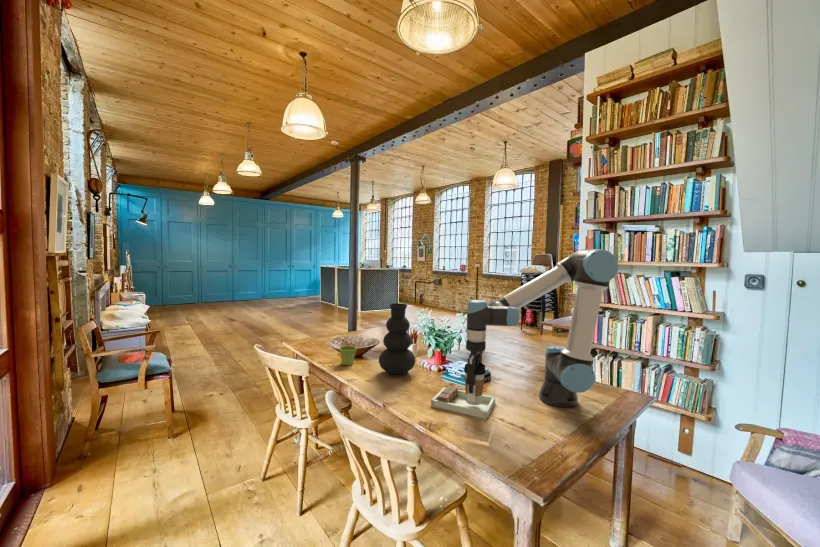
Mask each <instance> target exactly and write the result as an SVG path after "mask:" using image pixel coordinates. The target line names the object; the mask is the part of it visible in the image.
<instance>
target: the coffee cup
mask: <svg viewBox="0 0 820 547" xmlns="http://www.w3.org/2000/svg"><path fill="white" fill-rule="evenodd" d="M467 369H468V362H467V363H465V365H464V368H463V372H464V388H465V390H464V391H466V402H467V403H468V404H471V405H479V404H481V401H482V395H483V392H484V391H483V390H484V385H485V374H486V373H487V372H486V371H487V370H486V365H485V364H484V363H483V362H482V363H481V364H480V366H478V367H477V368H476V373H475V375H476V377H475V402H473V401H468V400H467V399H468V384H466V382H467Z"/></svg>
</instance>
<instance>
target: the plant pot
mask: <svg viewBox="0 0 820 547" xmlns="http://www.w3.org/2000/svg"><path fill="white" fill-rule="evenodd" d="M338 350H339V352H340V359H341V361H340V362H341V364H342V366H352V365H353V364H354V361H355V354H356V352H357V346H354V345H343V346H339V348H338Z"/></svg>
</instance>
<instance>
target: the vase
mask: <svg viewBox="0 0 820 547" xmlns="http://www.w3.org/2000/svg"><path fill="white" fill-rule="evenodd" d="M407 307H408V304H407V303H396V302H395V303H389V308H390V317H389V318H388V319H387V320H386V322H385V327H386V328H385V329H386V330H387V331H388V332H386V334H385V335H384V337H383V342H382V343H383V345H384V347H385V349H383V351H382V352H380V354H379V356H378V363H379V366H380V368H381V369H382V370H383V371H385V374H387V375H388V376H392V377H402V376H407V375H408V373H409V372H410V371H411V370H413V368H414V367H415V364H416V357H415V354H414V353H413V351H412V350H410V349H409V348H410V347H411V346H412V342H413V340H412V337H411V335H410V334H409V333H408V331H409V330H410V327H411V324H410V321H409V320H408V318H407V317H406V309H407Z"/></svg>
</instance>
